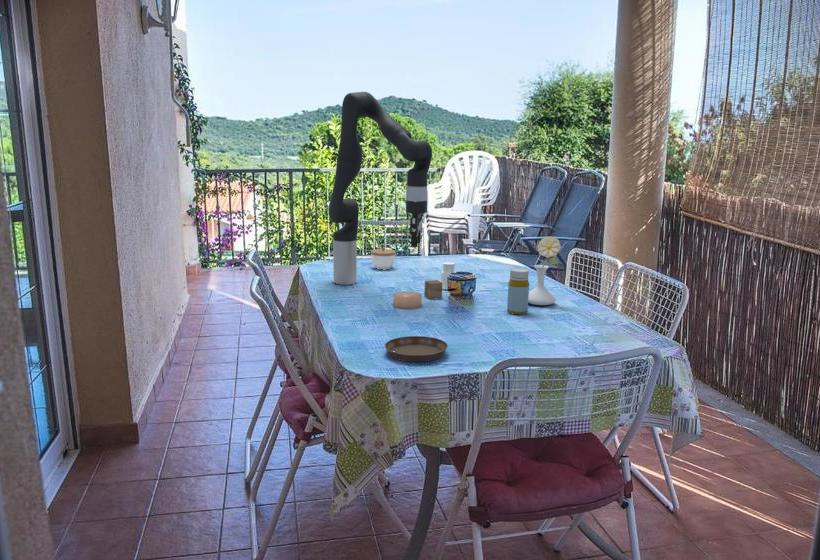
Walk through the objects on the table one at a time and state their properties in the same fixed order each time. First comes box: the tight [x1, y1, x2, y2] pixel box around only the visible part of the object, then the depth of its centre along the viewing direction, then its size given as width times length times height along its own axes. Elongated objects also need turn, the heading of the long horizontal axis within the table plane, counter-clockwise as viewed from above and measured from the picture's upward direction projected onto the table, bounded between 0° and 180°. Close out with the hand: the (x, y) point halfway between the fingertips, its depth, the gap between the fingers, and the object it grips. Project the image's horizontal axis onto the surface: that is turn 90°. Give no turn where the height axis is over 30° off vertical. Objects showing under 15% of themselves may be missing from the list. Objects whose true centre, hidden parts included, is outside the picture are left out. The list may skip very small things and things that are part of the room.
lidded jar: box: [370, 246, 397, 270], centre depth 320 cm, size 11×11×9 cm
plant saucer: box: [384, 335, 449, 362], centre depth 208 cm, size 18×18×3 cm
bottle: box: [506, 267, 530, 315], centre depth 252 cm, size 7×7×15 cm
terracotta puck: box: [392, 290, 423, 310], centre depth 260 cm, size 10×10×4 cm
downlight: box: [440, 262, 457, 290], centre depth 286 cm, size 8×7×10 cm
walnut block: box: [423, 279, 443, 300], centre depth 272 cm, size 5×5×6 cm
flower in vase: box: [528, 235, 562, 306], centre depth 263 cm, size 13×11×25 cm
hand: (415, 244), depth 261 cm, fingers open, 8 cm apart
